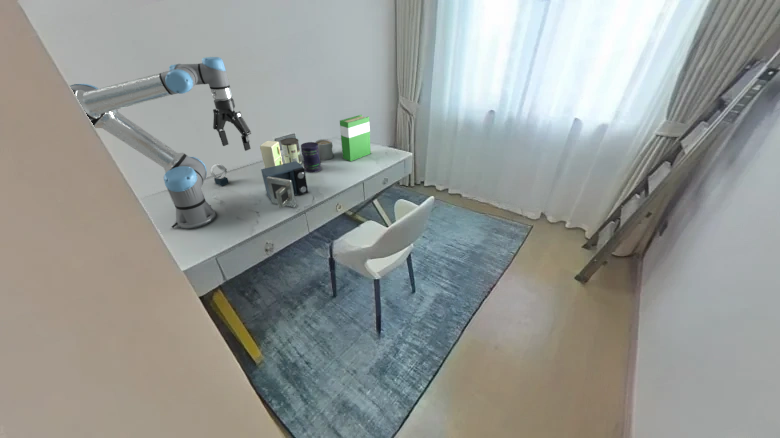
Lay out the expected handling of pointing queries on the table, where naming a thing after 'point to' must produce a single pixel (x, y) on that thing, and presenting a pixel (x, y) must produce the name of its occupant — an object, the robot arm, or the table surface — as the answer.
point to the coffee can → (291, 150)
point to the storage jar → (311, 157)
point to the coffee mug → (325, 149)
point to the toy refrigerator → (271, 154)
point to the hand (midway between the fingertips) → (236, 147)
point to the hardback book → (355, 137)
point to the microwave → (287, 176)
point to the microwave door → (281, 192)
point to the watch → (221, 179)
